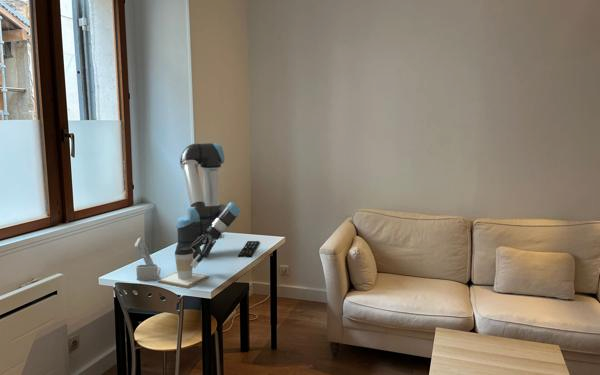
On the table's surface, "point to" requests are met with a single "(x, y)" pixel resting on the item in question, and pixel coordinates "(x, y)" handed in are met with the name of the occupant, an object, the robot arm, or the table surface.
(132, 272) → the table surface
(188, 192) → the robot arm
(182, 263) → the coffee cup
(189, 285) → the notebook
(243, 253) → the remote control
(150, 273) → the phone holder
